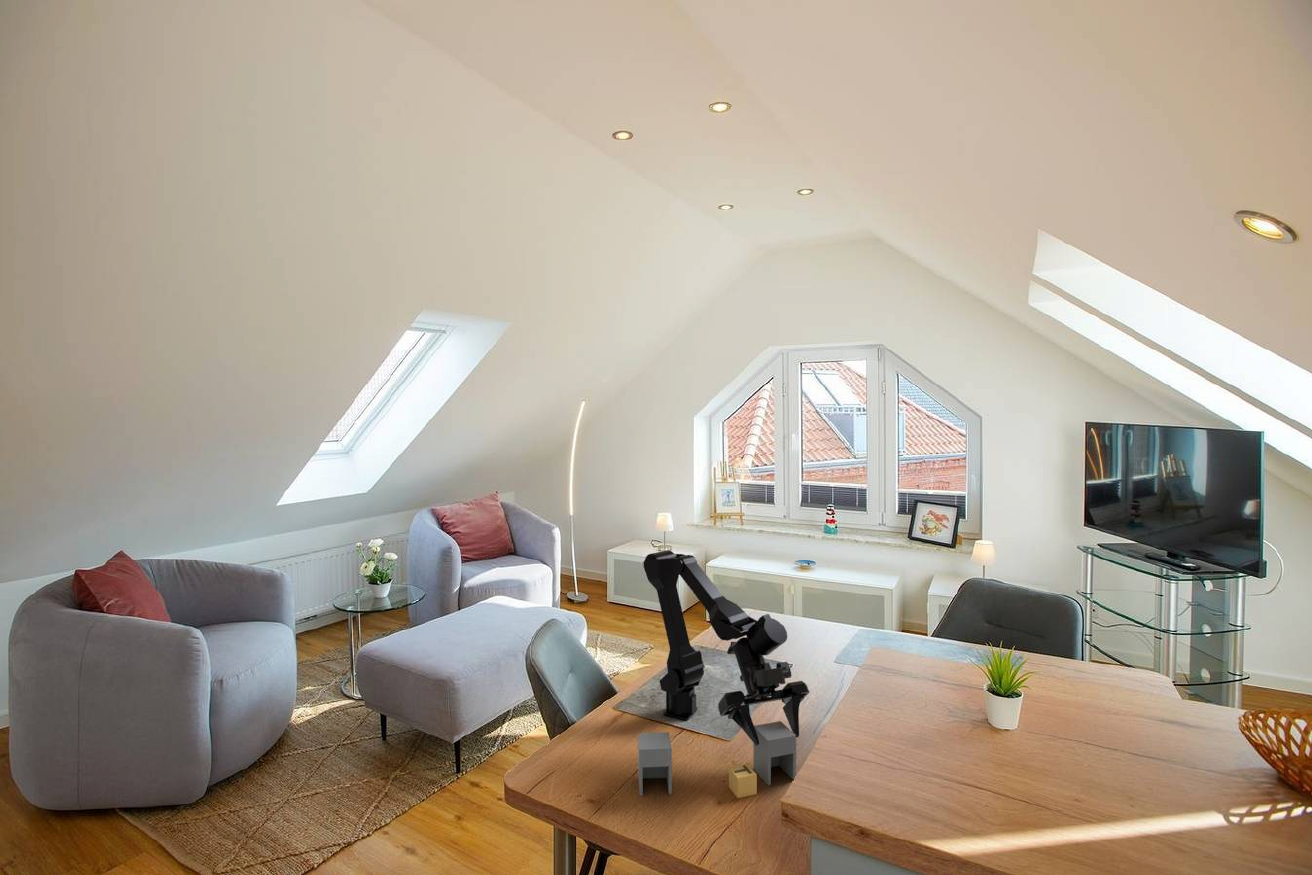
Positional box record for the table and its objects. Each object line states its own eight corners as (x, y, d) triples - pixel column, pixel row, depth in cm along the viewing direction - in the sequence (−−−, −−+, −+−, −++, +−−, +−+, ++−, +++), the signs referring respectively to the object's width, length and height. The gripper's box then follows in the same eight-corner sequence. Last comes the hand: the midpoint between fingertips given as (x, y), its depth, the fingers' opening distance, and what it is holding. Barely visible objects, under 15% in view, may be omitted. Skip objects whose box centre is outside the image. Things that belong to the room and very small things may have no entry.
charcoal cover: (753, 768, 132) (753, 725, 132) (780, 763, 134) (780, 721, 134) (768, 785, 127) (768, 740, 126) (795, 779, 129) (796, 735, 128)
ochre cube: (728, 786, 126) (728, 766, 126) (747, 782, 128) (747, 762, 128) (737, 798, 123) (737, 777, 122) (756, 794, 124) (756, 773, 124)
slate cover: (638, 776, 130) (638, 733, 129) (669, 775, 130) (668, 731, 130) (639, 795, 124) (639, 749, 123) (671, 794, 124) (671, 748, 124)
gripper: (723, 654, 130) (748, 734, 120) (804, 643, 136) (835, 718, 126) (708, 677, 138) (730, 754, 128) (785, 665, 144) (812, 738, 134)
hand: (777, 740), depth 129 cm, fingers open, 9 cm apart
